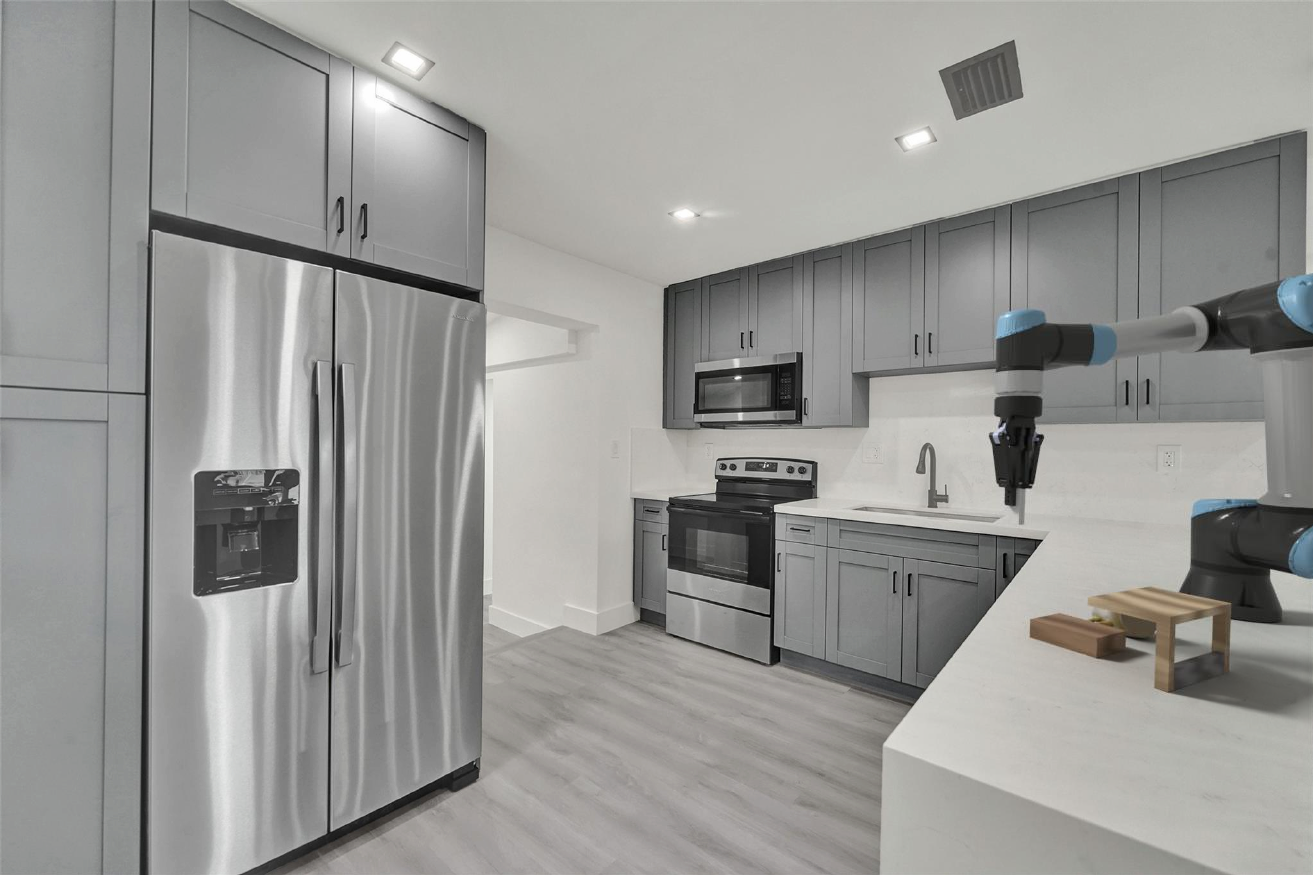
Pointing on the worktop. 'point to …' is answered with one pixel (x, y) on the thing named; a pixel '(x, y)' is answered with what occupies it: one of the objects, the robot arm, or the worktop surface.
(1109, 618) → the mug
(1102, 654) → the slab
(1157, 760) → the worktop surface
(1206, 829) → the worktop surface
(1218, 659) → the shelf
